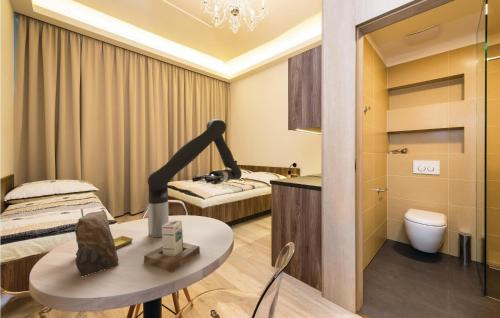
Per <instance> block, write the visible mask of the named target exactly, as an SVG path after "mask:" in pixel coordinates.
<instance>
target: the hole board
mask: <svg viewBox="0 0 500 318" xmlns="http://www.w3.org/2000/svg"><path fill="white" fill-rule="evenodd" d="M200 249H201V247H200V245H195V244H190V243H188V242H183V251H182V252H181V253H179V254H178V255H176V256H174V257H169V256H166V255H163V245H162V246H159V247H158V248H156V249H153V250H152V251H150V252H148V253H146V254H144V255H143V263H144V264H147V265H149V266H153V267H155V268H158V269H162V270H164V271H168V272H171V273H174V272H175V271H177V270H179V268H181V267H182V266H184V265H185V264H186V263H188V262H190V261H191V260H193V259H194V258H195V257H197V256H198V255H200V253H201V250H200Z"/></svg>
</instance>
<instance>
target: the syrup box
mask: <svg viewBox="0 0 500 318" xmlns="http://www.w3.org/2000/svg"><path fill="white" fill-rule="evenodd" d="M183 237H184V235H183V221H182V220H169V222H168V223H166V224H164V225H162V237H161V240H162V246H163V255H166V256H169V257H174V256H176V255H178V254H179V253H181V252H182V251H183V243H184V239H183Z"/></svg>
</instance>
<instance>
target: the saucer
mask: <svg viewBox="0 0 500 318" xmlns="http://www.w3.org/2000/svg"><path fill="white" fill-rule="evenodd" d="M113 239H114V244H115V247H116V249H119V248H121V246H122V247H123V246H126V245H129V244H131V243H132V242H133V240H134V238H133V237H128V236H125V235H121V236H118V237H115V238H113Z"/></svg>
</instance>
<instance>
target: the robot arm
mask: <svg viewBox="0 0 500 318" xmlns="http://www.w3.org/2000/svg"><path fill="white" fill-rule="evenodd" d="M226 124H227V123H226V122H225V121H224V120H222V119H220V118H219V119H217V118H213V119H210V120H208V121H207V123H206V129H205V130H204V131H203V132H202V133H201V134H199V135H197V136H196V137H194V138H191V139H190V140H189V141H187V142H186V143H184V144H183V145H182V146H181V147H180V148H179V149H178V150H177V151H176V152H175V153H174V154H173V156H171V158H170V159H169V160H168V162H166V163H165V164H164V165H163V166H161V167H160V168H159V169H157V170H156V171H153V172H151V173H150V174H149V176H148V178H147V185H148V217H147V227H148V236H149V237H150V238H162V225H164V224H166V223H168V222H169V221H170V220H169V190H168V189H169V188H168V183H170V182H171V180H172V179H173V178H174V177H175V176H176V175H177V174H178V173H179V172H181V170H183V169H184V168H185V167H187V166H188V165H190V164H191V163H192V162H193V161H194V160H195V159H197V157H198V156H199V155H200V154H201V153H203V152H204V150H205V149H207V148H208V146H210V145H211V144H212V143H214V144H215V147H216V148H217V150H218V153H219V155H220V156H219V157H220V159H221V161H222V162H221V163H222V164H223V166H224V167H225V168H224V169H214V170H211V171H210V172H209V173H207V174H200V175H194V176H193V177H192V179H191V180H192V182H193V183H195V182H203V183H205V182H206V184H209V183H211V185H218V184H222V183H225V182H229V181H230V180H232V181H233V180H240V179H241V178H242V176H243V175H242V170H241V168H240V167H239V165H238V164H237V162H236V161H235V158H234V155H233V153H232V151H231V149H230V147H229V146H228V144H227V143H226V140H225V138H224V136H223V135H224V134H225V132H226V130H227V125H226Z"/></svg>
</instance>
